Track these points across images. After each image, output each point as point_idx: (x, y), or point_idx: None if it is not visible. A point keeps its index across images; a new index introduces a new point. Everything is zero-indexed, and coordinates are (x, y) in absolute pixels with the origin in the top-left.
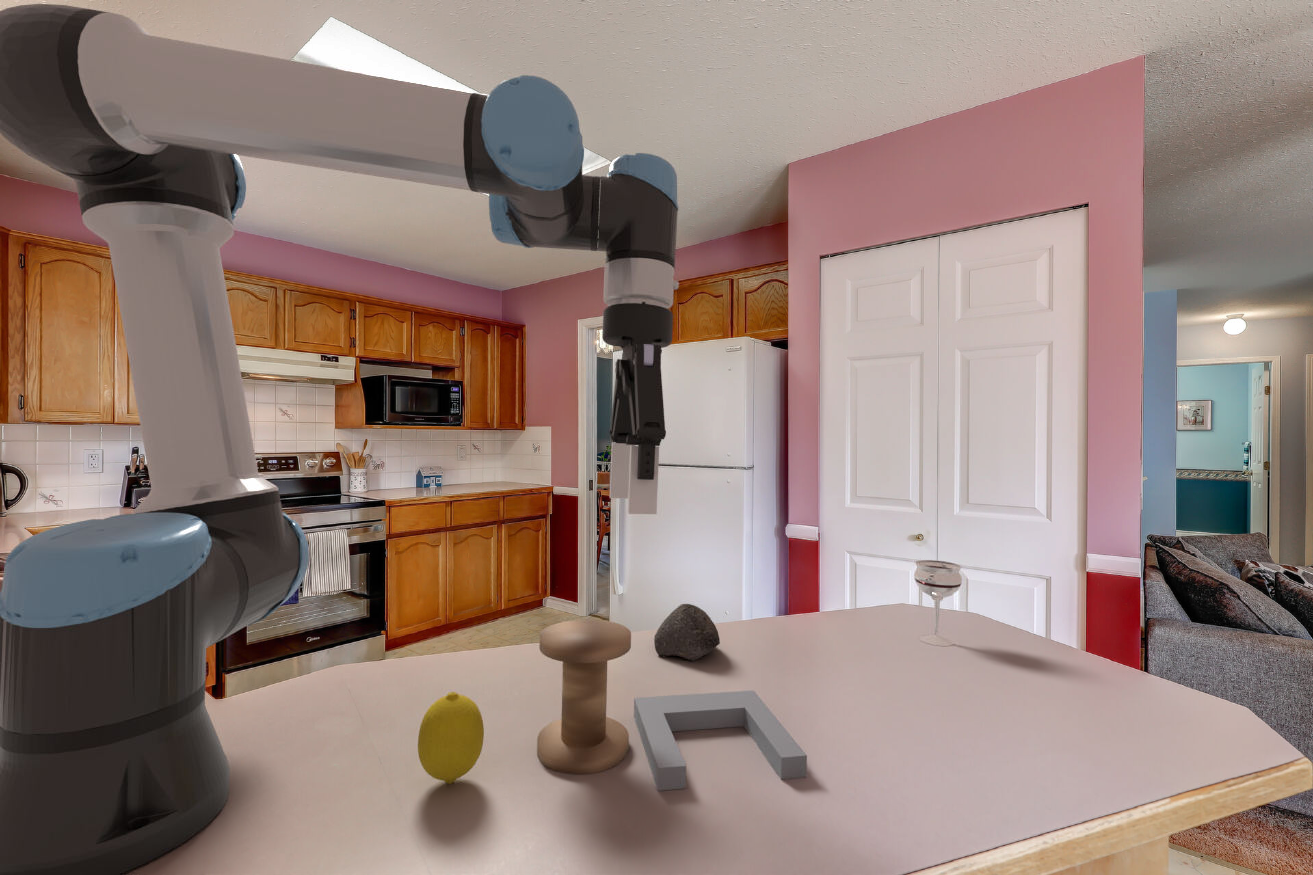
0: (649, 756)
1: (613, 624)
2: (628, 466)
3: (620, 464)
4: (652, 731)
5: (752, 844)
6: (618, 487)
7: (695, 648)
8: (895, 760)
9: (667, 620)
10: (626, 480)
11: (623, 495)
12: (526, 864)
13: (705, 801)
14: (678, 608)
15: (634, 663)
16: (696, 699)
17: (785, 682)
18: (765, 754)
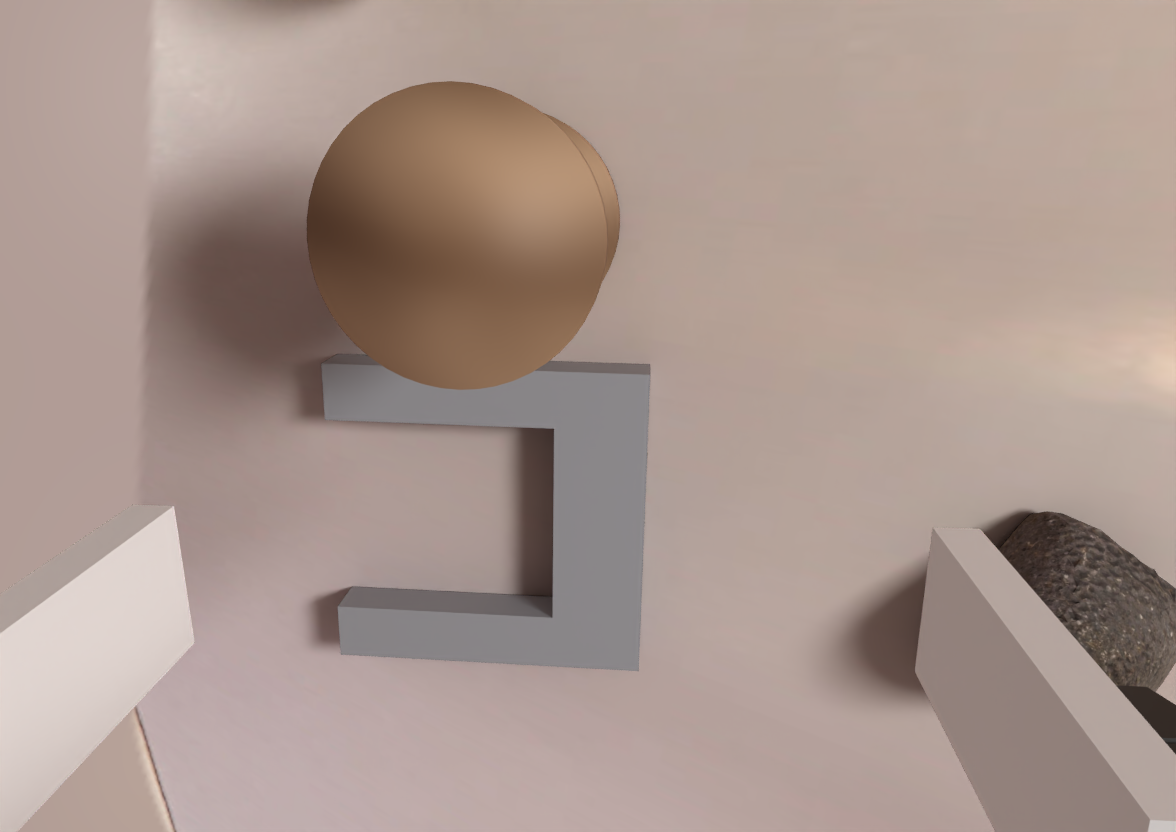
0: None
1: (537, 346)
2: (1007, 794)
3: (1025, 741)
4: None
5: (185, 470)
6: (948, 617)
7: None
8: (391, 803)
9: (1090, 590)
10: (960, 703)
11: (929, 623)
12: (153, 88)
13: (299, 432)
14: (1095, 646)
15: (991, 428)
16: (613, 524)
17: (758, 772)
18: (428, 592)
